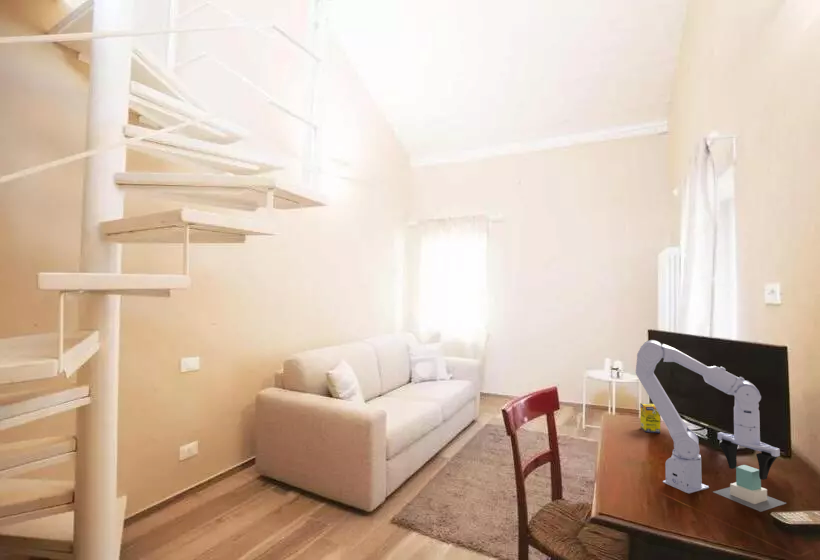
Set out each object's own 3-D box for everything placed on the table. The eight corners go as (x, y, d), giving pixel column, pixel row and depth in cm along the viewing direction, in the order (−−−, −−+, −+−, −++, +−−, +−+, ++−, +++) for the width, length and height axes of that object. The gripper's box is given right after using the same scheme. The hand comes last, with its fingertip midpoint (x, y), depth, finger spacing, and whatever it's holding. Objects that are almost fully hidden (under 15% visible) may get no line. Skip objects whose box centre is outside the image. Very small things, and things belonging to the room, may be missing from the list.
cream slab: (754, 504, 113) (754, 493, 113) (730, 494, 119) (730, 483, 119) (767, 500, 115) (767, 489, 116) (743, 490, 121) (742, 480, 121)
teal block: (752, 490, 115) (751, 472, 115) (736, 484, 118) (735, 466, 118) (761, 488, 116) (760, 470, 116) (744, 482, 120) (744, 464, 120)
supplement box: (645, 432, 174) (645, 406, 174) (640, 428, 180) (639, 402, 180) (661, 433, 173) (660, 407, 173) (655, 429, 179) (654, 403, 179)
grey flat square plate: (760, 512, 109) (760, 511, 109) (712, 492, 120) (712, 491, 120) (786, 504, 114) (786, 503, 114) (737, 485, 125) (737, 484, 125)
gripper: (785, 430, 113) (787, 481, 112) (727, 416, 126) (728, 461, 126) (770, 434, 110) (771, 485, 109) (712, 418, 123) (713, 465, 123)
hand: (747, 473), depth 117 cm, fingers open, 7 cm apart
